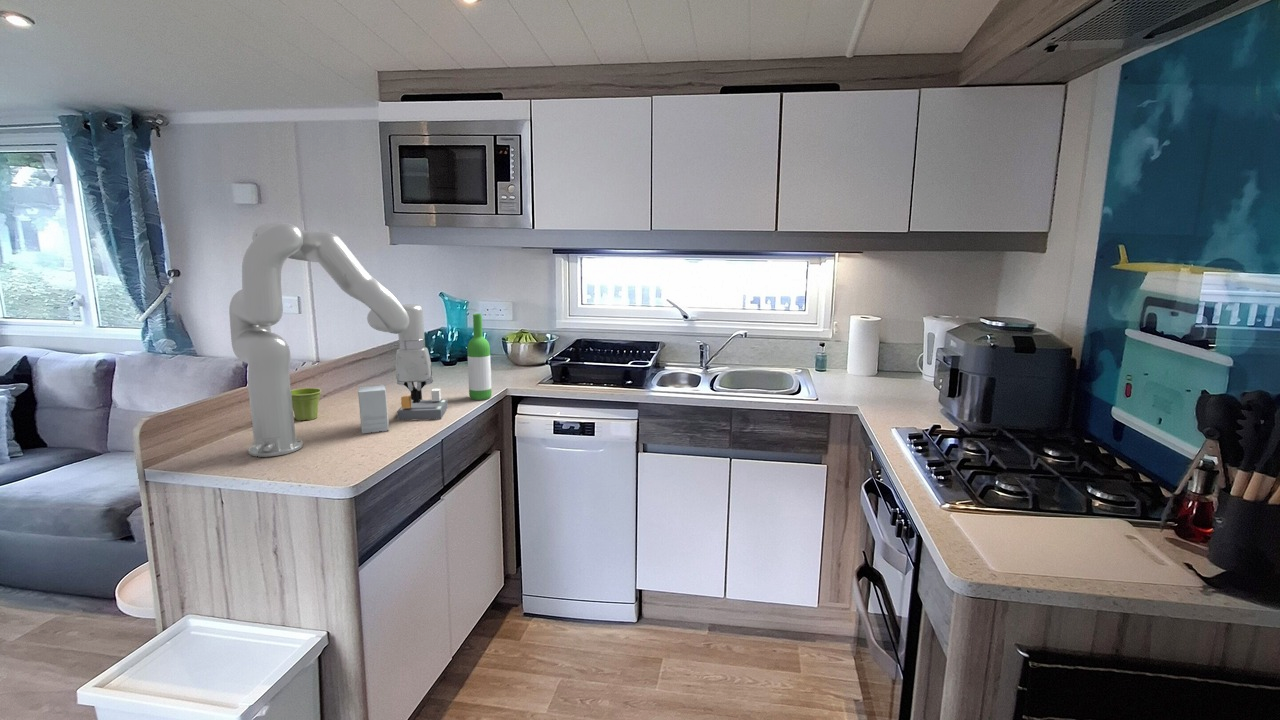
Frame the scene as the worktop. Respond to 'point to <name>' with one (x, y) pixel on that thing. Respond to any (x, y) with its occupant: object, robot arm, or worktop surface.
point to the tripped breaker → (406, 401)
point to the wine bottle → (479, 363)
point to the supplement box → (373, 408)
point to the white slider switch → (436, 394)
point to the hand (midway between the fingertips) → (416, 401)
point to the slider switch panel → (423, 410)
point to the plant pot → (305, 403)
